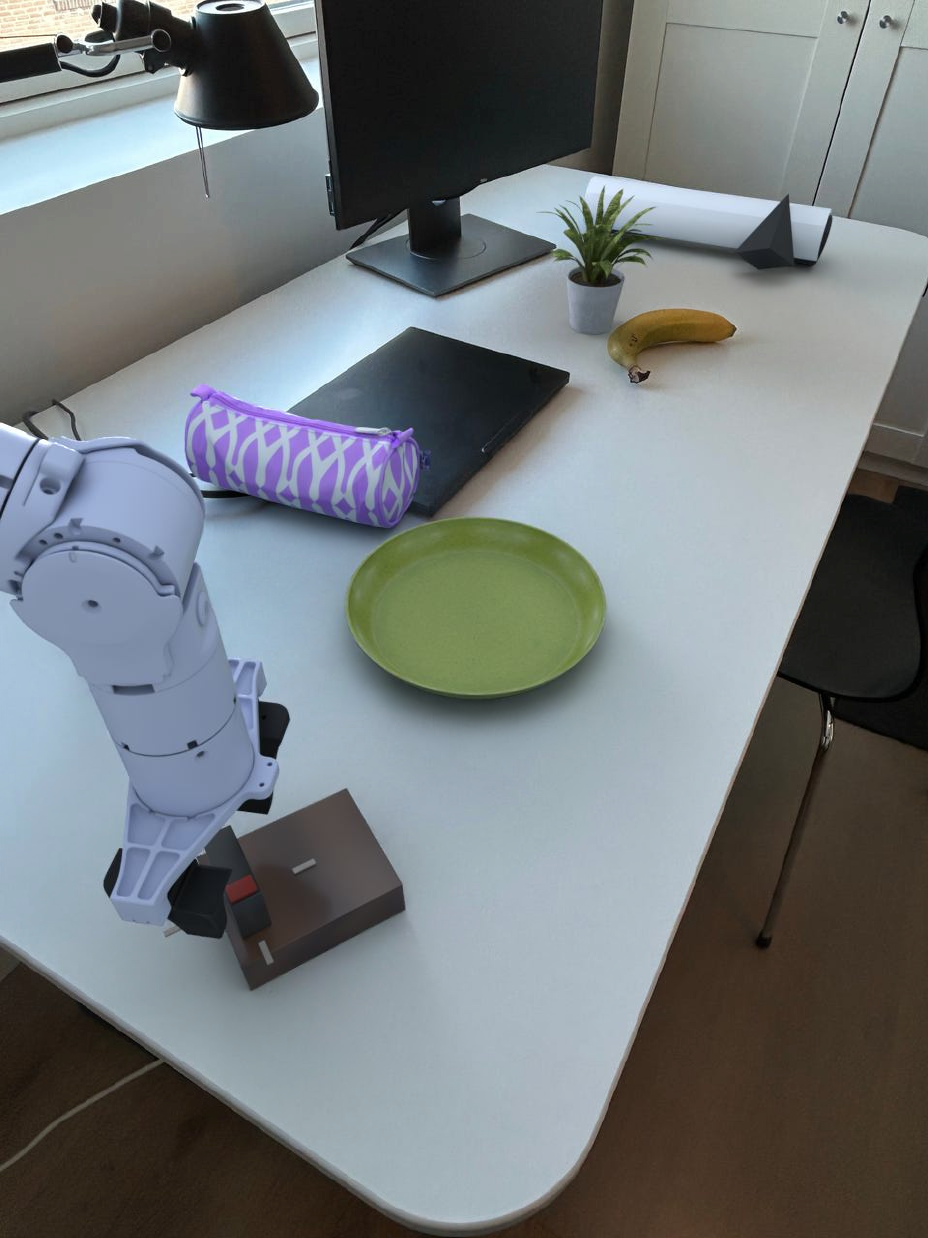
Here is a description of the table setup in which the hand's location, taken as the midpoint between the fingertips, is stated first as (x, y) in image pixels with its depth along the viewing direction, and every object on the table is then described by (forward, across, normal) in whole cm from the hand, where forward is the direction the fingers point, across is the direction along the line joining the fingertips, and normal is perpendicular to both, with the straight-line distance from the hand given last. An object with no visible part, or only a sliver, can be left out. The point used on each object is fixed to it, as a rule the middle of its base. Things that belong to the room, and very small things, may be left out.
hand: (230, 865), depth 49 cm
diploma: (+7, +108, -30) cm, 112 cm away
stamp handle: (+3, 0, 0) cm, 3 cm away
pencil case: (+7, +43, +9) cm, 44 cm away
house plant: (+7, +83, -16) cm, 84 cm away
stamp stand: (+6, +1, -1) cm, 7 cm away
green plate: (+7, +28, -10) cm, 30 cm away
